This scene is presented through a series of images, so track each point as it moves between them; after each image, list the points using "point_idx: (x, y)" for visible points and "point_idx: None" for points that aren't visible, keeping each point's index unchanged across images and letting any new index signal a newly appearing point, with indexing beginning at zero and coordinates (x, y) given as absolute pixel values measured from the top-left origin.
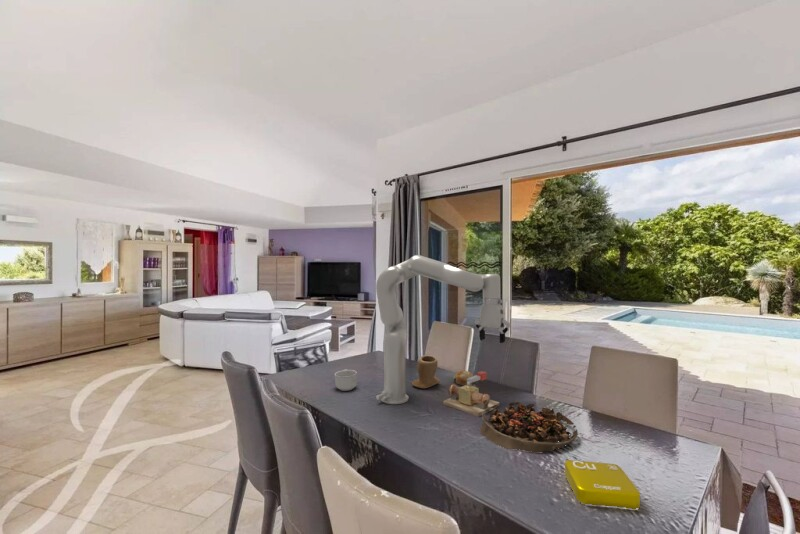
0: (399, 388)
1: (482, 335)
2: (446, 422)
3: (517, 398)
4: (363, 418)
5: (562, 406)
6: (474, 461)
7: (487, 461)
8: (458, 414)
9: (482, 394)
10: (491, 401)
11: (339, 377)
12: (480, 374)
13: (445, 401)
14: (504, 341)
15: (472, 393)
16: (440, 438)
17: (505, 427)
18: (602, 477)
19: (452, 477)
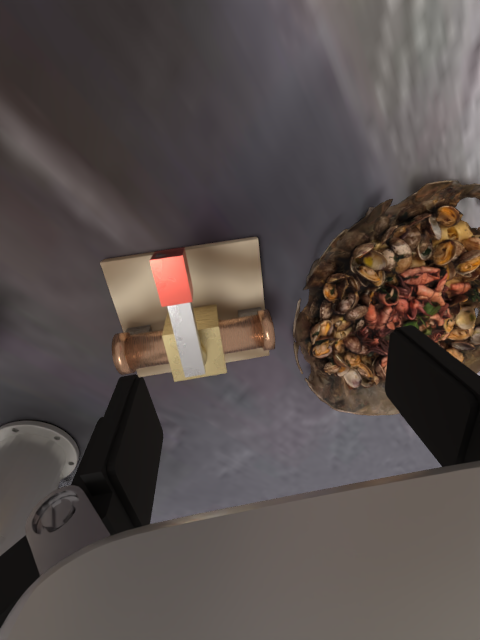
0: (50, 490)
1: (149, 459)
2: (238, 425)
3: (252, 92)
4: None
5: (436, 3)
6: (372, 466)
7: (388, 452)
8: (222, 379)
9: (257, 341)
10: (233, 255)
11: None
12: (185, 302)
13: (145, 374)
14: (411, 329)
15: (224, 356)
16: (283, 467)
17: (379, 381)
18: None
19: None
